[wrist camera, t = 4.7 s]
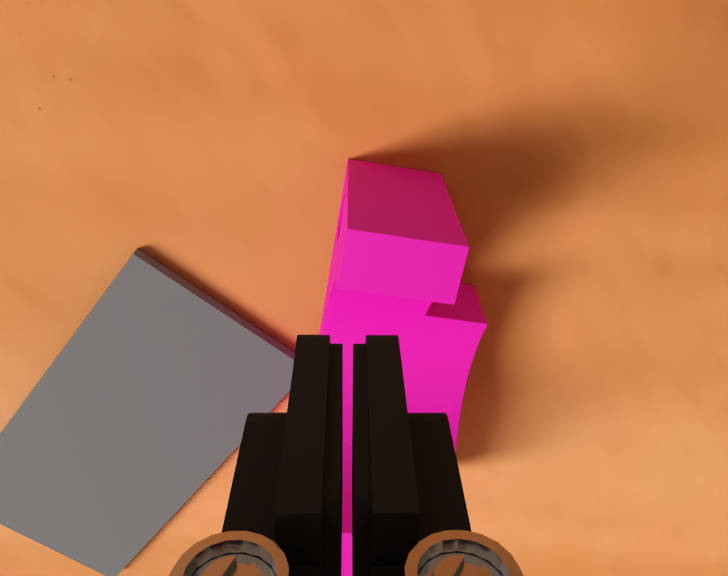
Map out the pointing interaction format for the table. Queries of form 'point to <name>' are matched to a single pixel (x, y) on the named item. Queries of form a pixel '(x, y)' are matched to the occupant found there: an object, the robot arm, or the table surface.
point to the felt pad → (134, 416)
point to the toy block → (401, 294)
